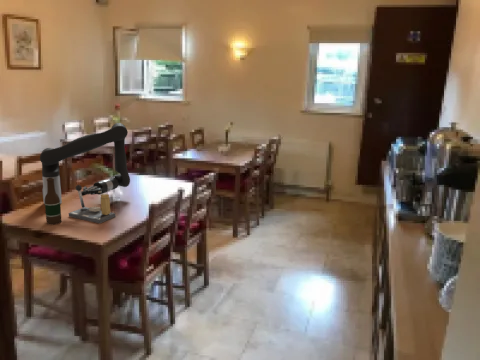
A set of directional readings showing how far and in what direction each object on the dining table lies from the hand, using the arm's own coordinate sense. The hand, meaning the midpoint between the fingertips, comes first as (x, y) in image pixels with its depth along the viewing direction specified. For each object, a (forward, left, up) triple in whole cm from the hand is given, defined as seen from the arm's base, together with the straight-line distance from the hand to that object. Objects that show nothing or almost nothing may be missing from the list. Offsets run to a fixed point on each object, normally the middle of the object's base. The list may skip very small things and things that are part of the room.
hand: (81, 193), depth 226 cm
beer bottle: (-3, -17, -12) cm, 21 cm away
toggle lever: (0, +1, -8) cm, 8 cm away
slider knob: (+16, +1, -10) cm, 19 cm away
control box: (+8, -1, -12) cm, 14 cm away
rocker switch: (+8, +1, -9) cm, 12 cm away
